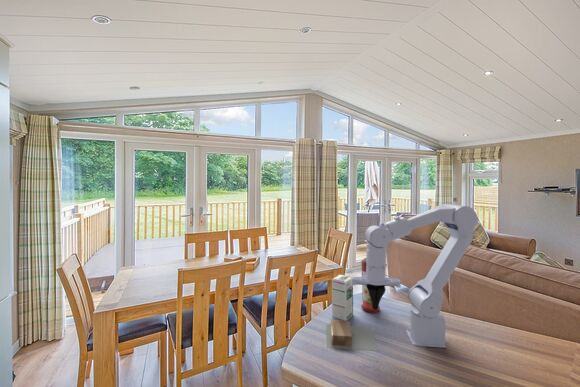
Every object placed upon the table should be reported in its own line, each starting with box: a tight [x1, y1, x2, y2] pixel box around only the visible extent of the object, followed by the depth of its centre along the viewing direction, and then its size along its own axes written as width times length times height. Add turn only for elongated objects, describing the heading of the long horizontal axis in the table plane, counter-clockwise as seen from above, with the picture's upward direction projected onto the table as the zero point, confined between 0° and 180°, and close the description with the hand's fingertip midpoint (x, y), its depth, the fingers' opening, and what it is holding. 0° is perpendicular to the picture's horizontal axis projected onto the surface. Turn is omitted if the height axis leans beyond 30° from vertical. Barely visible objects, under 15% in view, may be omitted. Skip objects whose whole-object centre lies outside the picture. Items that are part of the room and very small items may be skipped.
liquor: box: [360, 257, 381, 314], centre depth 108 cm, size 7×7×28 cm
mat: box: [325, 324, 379, 352], centre depth 91 cm, size 15×13×1 cm
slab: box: [330, 319, 352, 346], centre depth 90 cm, size 3×9×6 cm
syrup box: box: [331, 274, 354, 321], centre depth 104 cm, size 6×6×14 cm
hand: (374, 308), depth 89 cm, fingers closed
